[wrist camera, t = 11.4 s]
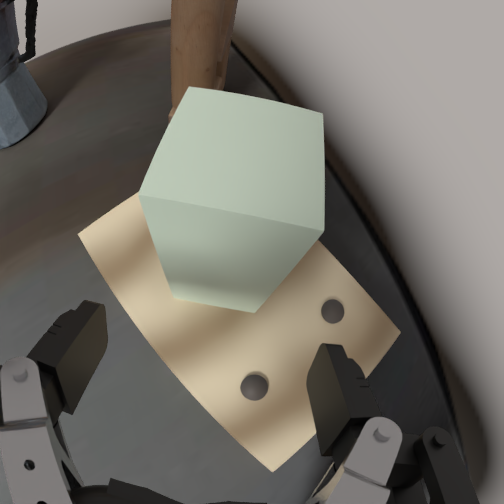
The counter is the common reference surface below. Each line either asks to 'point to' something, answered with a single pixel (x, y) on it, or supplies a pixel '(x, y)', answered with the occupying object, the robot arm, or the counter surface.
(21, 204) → the counter surface
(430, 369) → the counter surface
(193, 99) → the block
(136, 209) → the wooden board with holes
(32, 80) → the moka pot
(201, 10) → the wooden block
